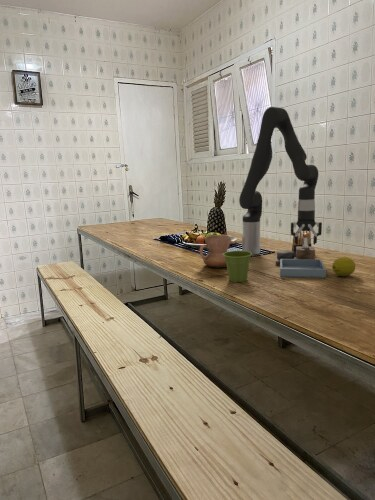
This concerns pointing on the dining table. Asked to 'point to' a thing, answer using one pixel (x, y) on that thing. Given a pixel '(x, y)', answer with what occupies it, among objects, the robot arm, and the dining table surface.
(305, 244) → the lock pin
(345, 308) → the dining table surface
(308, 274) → the tray
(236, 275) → the plant pot
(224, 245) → the ceramic jug
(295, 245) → the ammunition clip
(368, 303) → the dining table surface
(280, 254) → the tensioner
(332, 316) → the dining table surface
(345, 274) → the lemon
